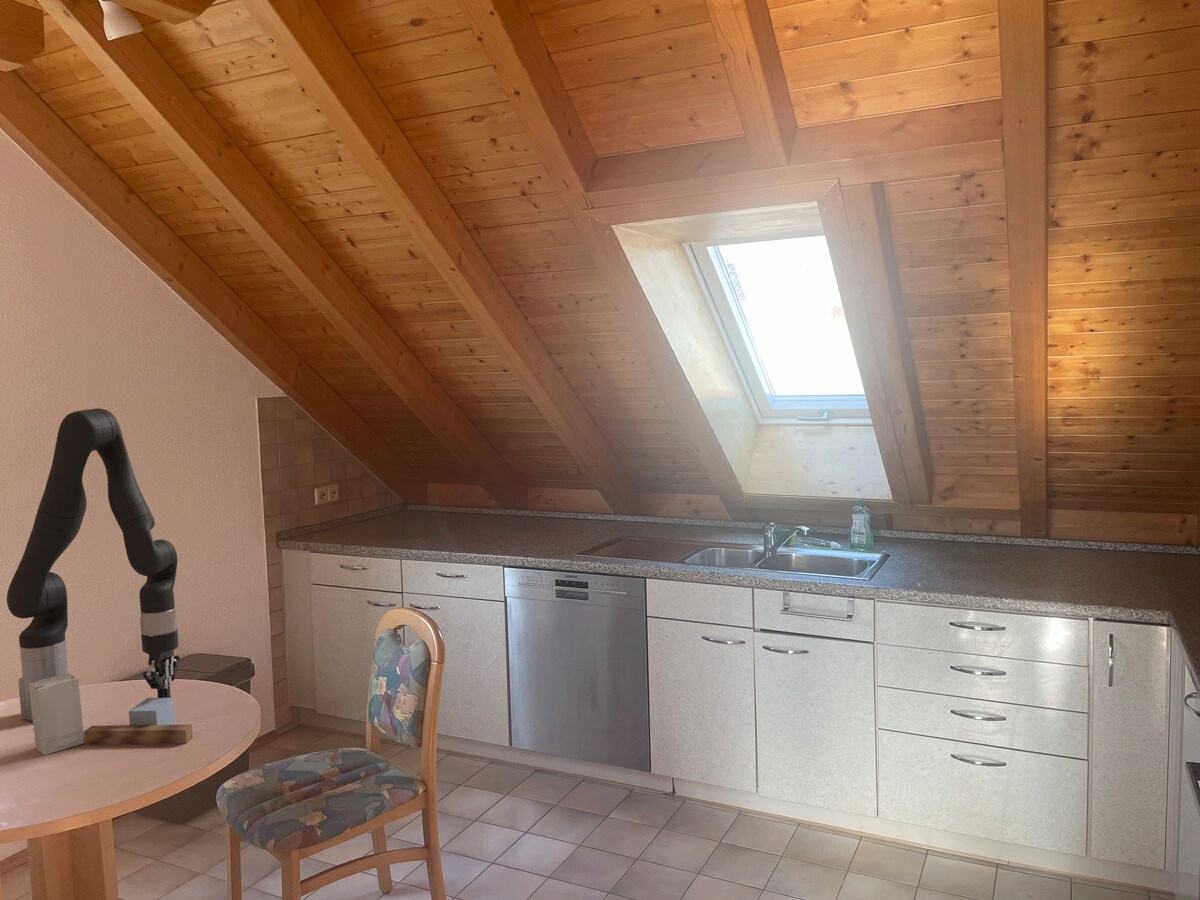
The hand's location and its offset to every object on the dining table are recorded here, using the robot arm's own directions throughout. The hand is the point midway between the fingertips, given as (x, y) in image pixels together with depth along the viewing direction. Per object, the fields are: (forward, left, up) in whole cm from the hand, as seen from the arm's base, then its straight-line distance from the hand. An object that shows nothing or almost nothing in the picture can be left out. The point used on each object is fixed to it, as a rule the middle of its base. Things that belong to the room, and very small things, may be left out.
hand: (164, 703), depth 219 cm
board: (0, -12, -4) cm, 12 cm away
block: (0, -6, -4) cm, 7 cm away
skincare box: (-16, -14, -4) cm, 22 cm away
